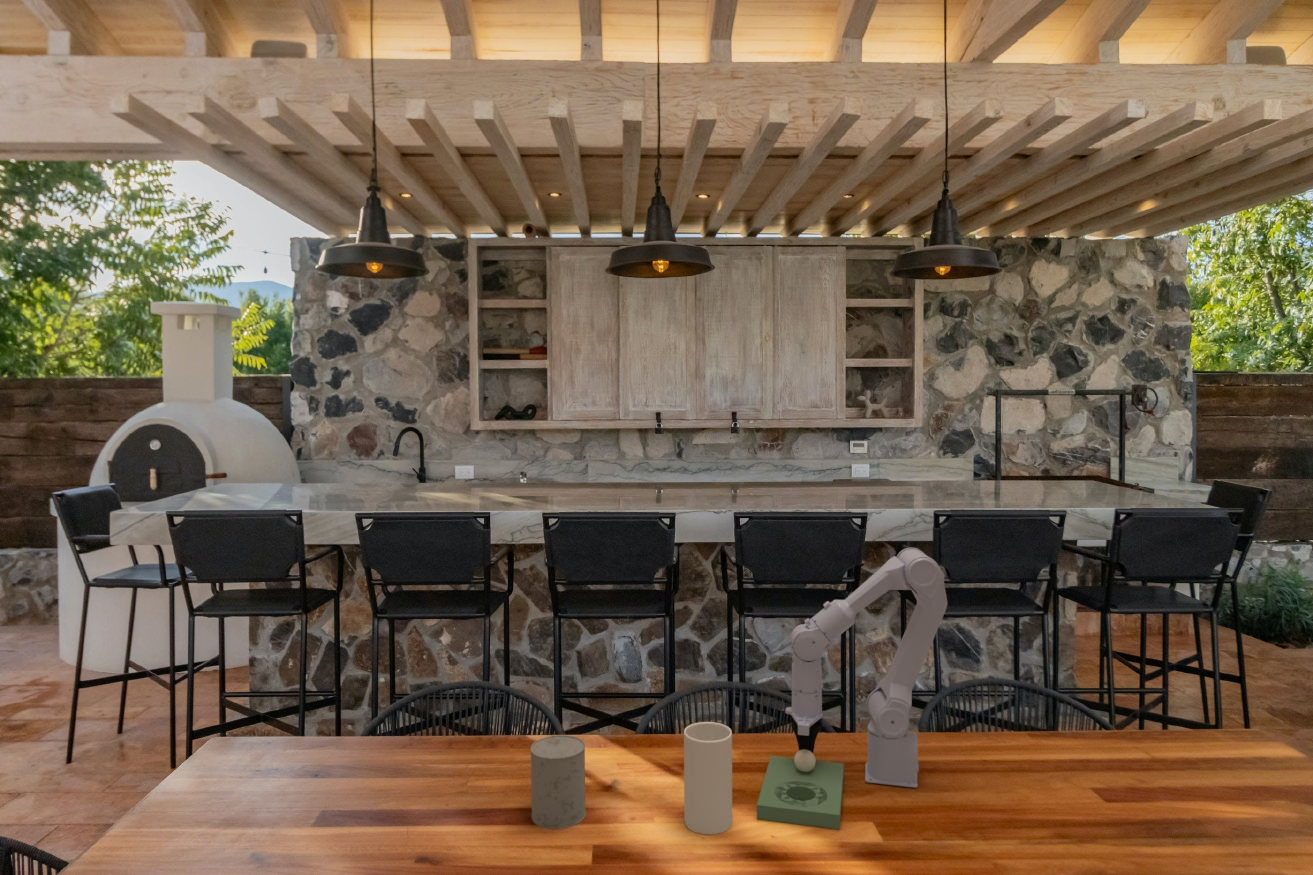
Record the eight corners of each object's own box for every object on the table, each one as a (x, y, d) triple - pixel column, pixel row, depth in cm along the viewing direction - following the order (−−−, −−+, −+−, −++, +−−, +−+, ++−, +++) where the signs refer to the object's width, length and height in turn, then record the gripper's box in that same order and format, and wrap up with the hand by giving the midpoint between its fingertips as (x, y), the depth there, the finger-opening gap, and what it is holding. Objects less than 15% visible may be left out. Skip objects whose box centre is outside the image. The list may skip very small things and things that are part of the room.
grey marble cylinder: (594, 805, 147) (593, 738, 147) (571, 832, 138) (571, 761, 138) (546, 797, 151) (545, 732, 150) (521, 823, 142) (520, 753, 141)
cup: (729, 836, 137) (729, 742, 136) (680, 831, 139) (680, 739, 138) (734, 812, 145) (734, 723, 144) (688, 807, 147) (688, 719, 146)
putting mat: (771, 767, 162) (771, 755, 162) (843, 775, 158) (843, 763, 158) (756, 818, 143) (756, 804, 142) (839, 829, 139) (839, 814, 139)
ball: (816, 767, 156) (816, 746, 156) (814, 776, 153) (815, 755, 152) (795, 764, 158) (795, 744, 157) (793, 774, 154) (793, 753, 153)
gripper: (789, 673, 166) (789, 739, 167) (781, 699, 152) (781, 771, 153) (825, 676, 164) (825, 743, 165) (820, 703, 150) (820, 775, 151)
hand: (806, 756), depth 159 cm, fingers closed
